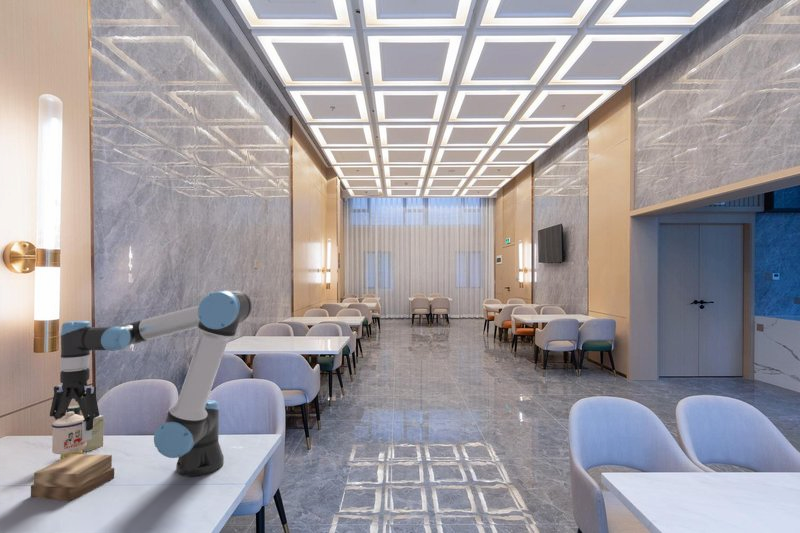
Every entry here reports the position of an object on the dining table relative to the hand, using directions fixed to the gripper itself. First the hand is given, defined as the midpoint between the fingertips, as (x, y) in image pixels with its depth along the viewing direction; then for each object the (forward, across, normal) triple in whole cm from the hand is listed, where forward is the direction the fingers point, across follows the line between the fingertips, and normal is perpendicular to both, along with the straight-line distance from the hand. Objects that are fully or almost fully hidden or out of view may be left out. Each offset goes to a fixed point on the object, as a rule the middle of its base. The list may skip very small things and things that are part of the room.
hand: (73, 439), depth 135 cm
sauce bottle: (+15, +19, -16) cm, 29 cm away
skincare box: (+15, +23, -28) cm, 39 cm away
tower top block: (+12, 0, 0) cm, 12 cm away
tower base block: (+16, 0, 0) cm, 16 cm away
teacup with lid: (+3, 0, 0) cm, 3 cm away
